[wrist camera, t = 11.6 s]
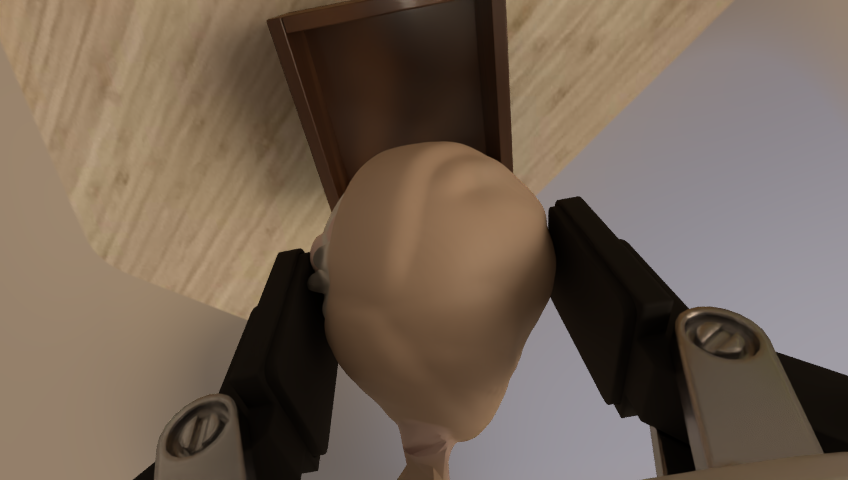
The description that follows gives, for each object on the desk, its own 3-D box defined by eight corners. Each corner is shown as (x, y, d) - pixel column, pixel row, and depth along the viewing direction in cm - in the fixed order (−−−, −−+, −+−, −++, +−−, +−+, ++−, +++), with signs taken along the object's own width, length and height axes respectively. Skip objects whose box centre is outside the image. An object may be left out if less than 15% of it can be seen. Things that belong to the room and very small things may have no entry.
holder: (342, 188, 32) (335, 223, 27) (287, 12, 25) (265, 20, 21) (495, 159, 32) (514, 190, 27) (482, -27, 25) (504, -28, 20)
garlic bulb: (286, 233, 13) (182, 502, 6) (406, 69, 11) (444, 222, 4) (439, 317, 16) (480, 568, 9) (563, 201, 13) (747, 427, 6)
